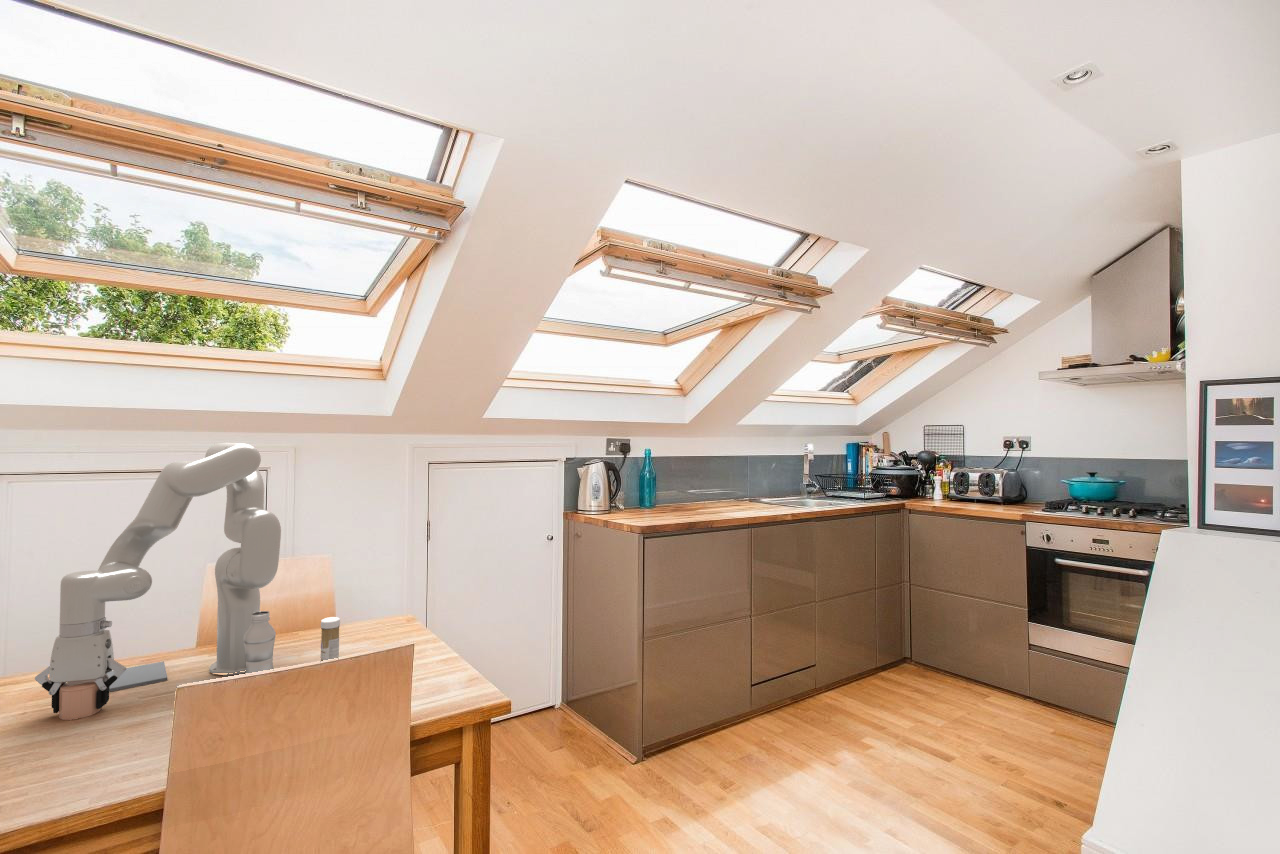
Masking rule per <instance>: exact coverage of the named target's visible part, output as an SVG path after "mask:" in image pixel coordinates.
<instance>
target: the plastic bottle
mask: <svg viewBox="0 0 1280 854" xmlns="http://www.w3.org/2000/svg"><path fill="white" fill-rule="evenodd" d="M270 620H271V617H270V611H269V610H260V612H255V613H252V615H251V623H252V625H251V626H250V628H249V629H248V630H247V632H246V633H245V635H244V646H245V652H246V673H252V672H258V671H263V670H270V669H273V670H274V662H273V661H274V658H273V657H274V647H275V641H276V635H277V633H276V630H275V628H274V627H273V625H272V624H271V623H270ZM246 673H245V674H246Z"/></svg>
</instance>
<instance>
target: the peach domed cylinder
mask: <svg viewBox="0 0 1280 854" xmlns="http://www.w3.org/2000/svg"><path fill="white" fill-rule="evenodd" d="M98 690H99V687H98V685H97V684H96V682H95V681H94V680H87V681H76V682H66V683H65V684H63V685H62V686H61V687H60V691H59V712H58V718H59V719H60V720H63V721H65V720H66V721H73V720H77V719H78V718H79V719H84V718H86V717H90V716H92V715H95V714H97V713H99V712H100V711H101V709H102V708H100V709H97V708H96V693H97V691H98ZM72 719H73V720H72ZM79 719H78V720H79Z"/></svg>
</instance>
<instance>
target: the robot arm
mask: <svg viewBox="0 0 1280 854" xmlns="http://www.w3.org/2000/svg"><path fill="white" fill-rule="evenodd" d="M204 457H205V458H201V459H198V460H194V461H189V460H177V461H172V462H170V463H168V464H166V465H165V466H164V467H163V468H162V470H161V471H160V473H159V475H158V476H157V478H156V480H155V481H154V483H153V486H152V487H151V488H150V490H149V493H148V494H147V497H146V499H145V500H144V502H143V504H142V506H141V507H140V509H139V511H138V513H137V515H136V516H135V518H134V519H133V520H132V521H131V522H130V523H129V524H128V526H126V528H125V529H124V530H123V531H122V532H121V533H120V534H119V536H118V537H117V538H116V539H115V541H113V543H112V544H111V546H110V547H109V549H108V551H107V553H106V554H105V556H104V558H103V559H102V562H101V563H100V565H99V567H98V569H97V570H82V571H76V572H72V573H68V574H66V575H64V576H63V577H62V578H61V580H60V589H59V592H60V593H59V600H60V601H59V603H60V604H59V627H58V628H59V629H58V630H59V631H58V633H59V635H58V636H56V637H55V639H54V643H53V647H52V650H51V656H50V660H49V661H50V662H49V666H47V667H46V668H45V669H44V670H42V671H41V672H40V673H38V674H37V675H36V676H35V677H34V680H35V681H36V682H37V684H39V685H41V688H43V689H44V690H45V691H46V692H48V695H50V696H51V709H52V713H53V714H57V713H59V691H60V687H61V686H62V685H63V684H65V683H68V682H76V681H87V680H94V681H95V682H96V684H97V685H98V687H99V690H98V691H97V693H96V708H97V709H100V708H101V709H102V708H103V707H105V705H107V704H108V703H109V701H110V692H109V686H110V685H112V683H114V682H115V681H116V680H117V679H118V678H119V677H120V676H121V675H122V674H123V673H124V672H125V670H126V668H127V667H126V666H124V665H123V664H121V663H119V662H118V661H116V660H115V658H114V657H115V655H114V646H113V645H114V644H113V640H112V639H113V638H112V635H111V632H110V629H107V628H111V627H112V625H113V621H112V620H107V617H106V603H107V602H120V601H122V602H123V601H130V600H131V601H132V600H135V599H138V598H140V597H143V596H144V595H145V594H146V593H148V592H149V590H151V588H152V585H153V578H152V576H151V574H150V573H149V572H148V570H146V569H143V568H142V567H140V565H141V563H142V561H143V559H144V558H145V556H146V555H147V553H148V552H149V550H151V548H152V547H154V545H155V544H157V542H159V541H161V540H162V539H164V538H165V537H167V536H169V535H170V534H172V533H173V532H174V531H176V529H177V528H178V527H179V525H180V523H181V521H182V519H183V517H184V515H185V514H186V511H187V509H188V507H189V505H190V504H191V501H192V500H193V498H196V497H202V496H205V495H208V494H210V493H212V492H216V491H218V490H220V489H223V488H225V489H226V503H225V505H226V506H225V516H224V524H223V532H224V535H225V537H226V538H227V539H228V540H230V541H232V542H233V543H236V544H237V543H239V544H240V547H233V548H230V549H227V550H226V551H224V552H223V553H222V554H221V555H220V556H219V557H218V558H217V560H216V562H215V566H214V576H215V577H214V578H215V583H216V589H217V619H216V620H217V621H216V622H217V624H216V661H214V662H213V663H212V664H210V665H209V668H208V669H209V671H208V672H209V673H210V672H211V673H228V674H227V675H226V676H234V675H240V674H241V675H242V674H246V671H245V670H246V652H245V646H244V635H245V633H246V632H247V630H248V629H249V628H250V626H251V625H252V623H251V615H252V613H255V612H260V611H261V591H260V589H262V588H264V587H266V586H268V585H269V584H271V583H272V581H273V580H274V579H275V577H276V575H277V572H278V569H279V568H278V567H279V562H280V550H281V538H282V527H281V523H280V521H279V520H280V519H279V518H278V517H277V515H276V514H275V513H273V512H272V511H270V510H267V509H265V508H264V506H265V484H264V479H263V476H262V473H261V472H260V470H259V467H260V465H261V461H262V456H261V453H260V451H259V450H258V449H257V448H256V447H255V446H253V445H251V444H250V443H249V444H248V443H244V442H219V443H216V444H215V443H214V444H213V445H211V446H210V447H209V448H208V449H207V450H206V452H205V456H204ZM113 670H114V671H115V673H114V674H113V675H112V676H111V677H110V678H109V676H108V675H107V673H108V672H111V671H113ZM240 671H245V672H240ZM235 672H237V673H235ZM211 673H210V674H211ZM229 673H233V674H229ZM48 676H49V677H48ZM223 676H225V675H223Z"/></svg>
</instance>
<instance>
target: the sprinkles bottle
mask: <svg viewBox="0 0 1280 854" xmlns="http://www.w3.org/2000/svg"><path fill="white" fill-rule="evenodd" d="M340 627H341V618H340V617H337V616H330V617H329V616H328V617H324V618H323V619H321V621H320V628H321V631H320V632H321V633H320V634H321V639H320V640H321V641H320V662H321V661H323V660H328V659H334V658H338V659H339V657H340Z"/></svg>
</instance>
